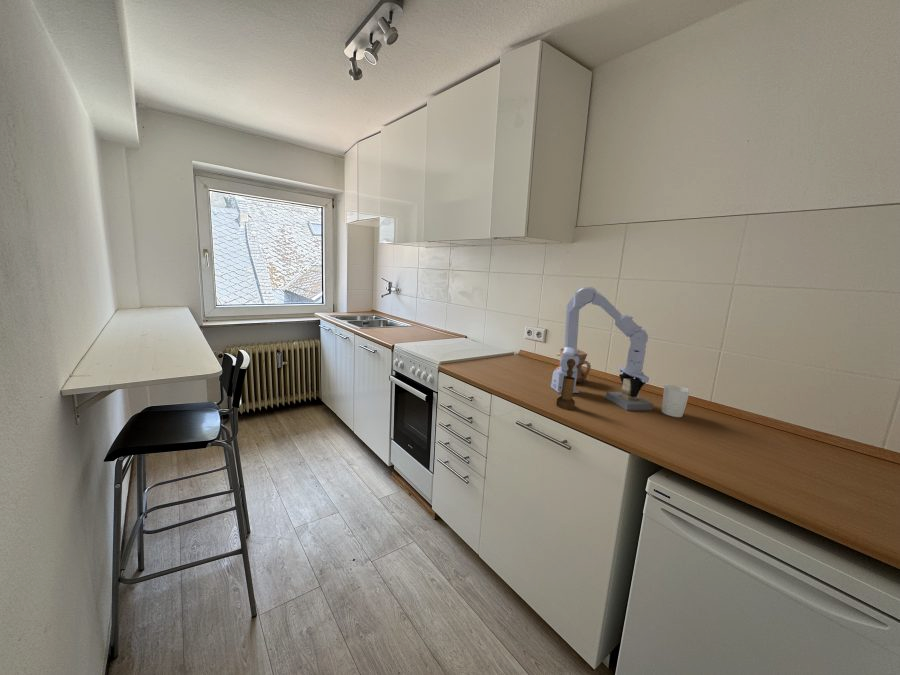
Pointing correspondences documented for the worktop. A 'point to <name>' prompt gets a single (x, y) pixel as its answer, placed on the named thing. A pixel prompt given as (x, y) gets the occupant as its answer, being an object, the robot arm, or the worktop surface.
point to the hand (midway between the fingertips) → (629, 394)
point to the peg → (627, 390)
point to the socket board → (629, 402)
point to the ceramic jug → (579, 365)
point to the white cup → (674, 400)
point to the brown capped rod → (567, 388)
